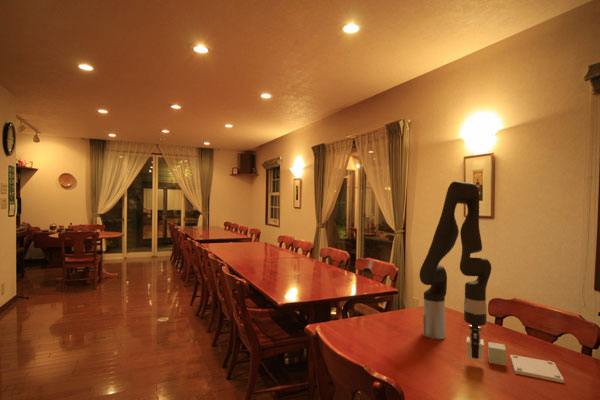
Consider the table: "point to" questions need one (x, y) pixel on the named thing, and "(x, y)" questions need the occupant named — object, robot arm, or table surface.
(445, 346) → the table surface
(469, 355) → the cream brick
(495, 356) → the sage brick
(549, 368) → the baseplate
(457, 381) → the table surface
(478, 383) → the table surface
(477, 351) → the robot arm
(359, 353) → the table surface
